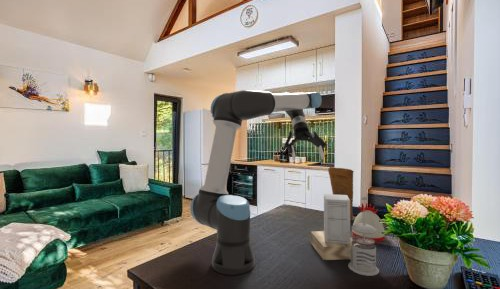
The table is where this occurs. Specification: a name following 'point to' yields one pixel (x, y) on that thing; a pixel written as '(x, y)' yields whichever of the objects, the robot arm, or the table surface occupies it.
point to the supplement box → (336, 218)
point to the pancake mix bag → (342, 183)
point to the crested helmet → (369, 223)
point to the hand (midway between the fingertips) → (308, 157)
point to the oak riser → (330, 247)
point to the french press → (363, 250)
